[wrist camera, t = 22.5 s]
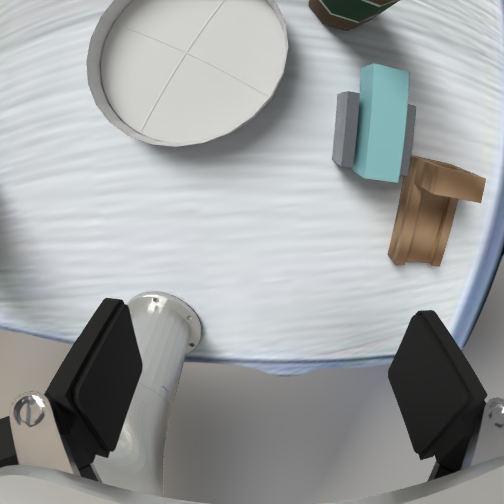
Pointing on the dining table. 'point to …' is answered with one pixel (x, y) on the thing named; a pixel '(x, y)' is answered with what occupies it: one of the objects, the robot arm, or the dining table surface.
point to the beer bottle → (348, 11)
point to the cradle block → (348, 131)
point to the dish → (186, 66)
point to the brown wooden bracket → (430, 209)
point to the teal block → (381, 122)
